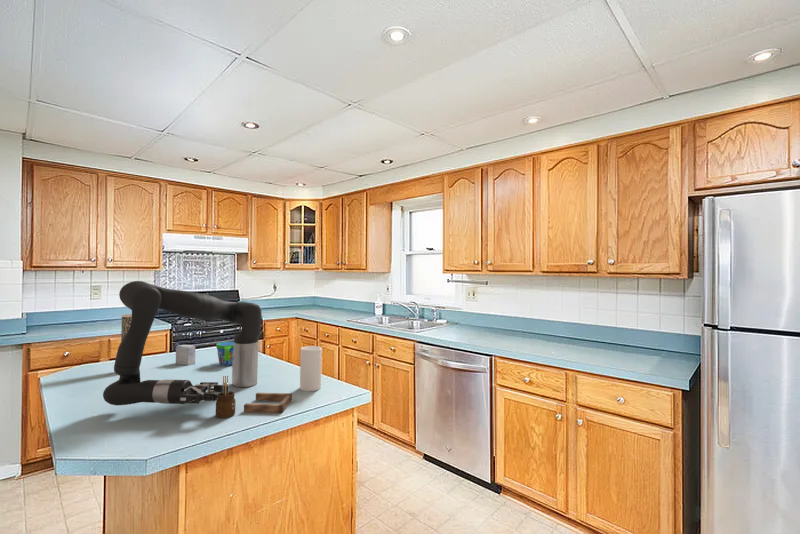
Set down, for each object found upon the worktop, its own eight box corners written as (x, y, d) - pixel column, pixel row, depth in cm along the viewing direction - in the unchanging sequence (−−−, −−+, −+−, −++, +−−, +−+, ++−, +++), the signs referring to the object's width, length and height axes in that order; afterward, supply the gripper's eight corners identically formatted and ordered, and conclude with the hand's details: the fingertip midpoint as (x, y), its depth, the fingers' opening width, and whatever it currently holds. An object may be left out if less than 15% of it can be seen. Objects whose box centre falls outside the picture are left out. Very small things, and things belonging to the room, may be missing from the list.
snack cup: (219, 360, 203) (219, 340, 203) (241, 360, 205) (242, 340, 205) (212, 368, 187) (212, 346, 187) (236, 368, 190) (237, 346, 190)
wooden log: (126, 369, 183) (127, 313, 183) (142, 369, 184) (143, 314, 184) (117, 373, 176) (118, 315, 176) (133, 373, 177) (134, 316, 177)
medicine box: (195, 363, 196) (195, 345, 196) (188, 365, 192) (188, 347, 192) (183, 362, 199) (183, 344, 199) (175, 364, 195) (175, 346, 194)
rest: (243, 412, 135) (243, 404, 135) (256, 399, 148) (257, 392, 148) (282, 412, 135) (282, 405, 135) (292, 400, 148) (292, 393, 148)
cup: (315, 392, 158) (316, 350, 158) (296, 390, 159) (297, 349, 159) (323, 385, 166) (324, 346, 166) (305, 384, 168) (306, 345, 167)
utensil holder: (216, 419, 128) (216, 381, 128) (214, 413, 134) (215, 376, 133) (236, 416, 131) (237, 379, 131) (234, 410, 136) (235, 374, 136)
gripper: (160, 386, 125) (213, 387, 125) (184, 374, 139) (231, 375, 139) (159, 411, 125) (212, 412, 125) (184, 396, 139) (231, 397, 139)
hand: (222, 392), depth 132 cm, fingers open, 8 cm apart
